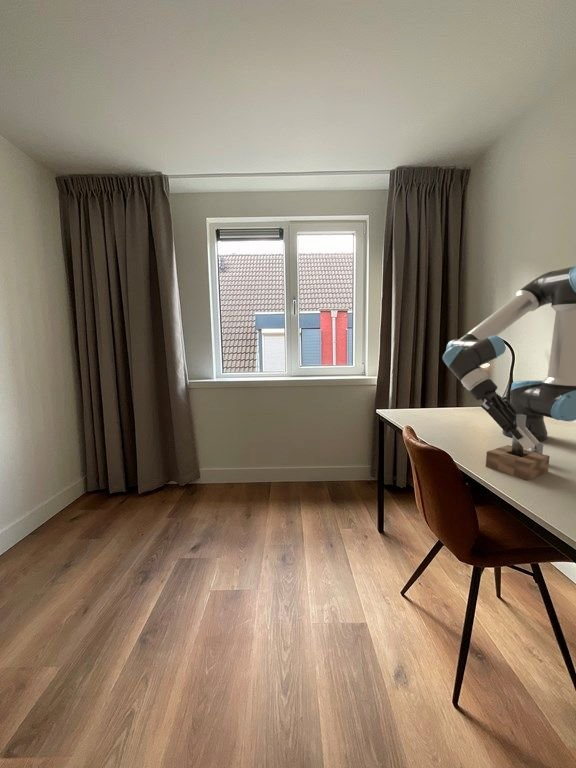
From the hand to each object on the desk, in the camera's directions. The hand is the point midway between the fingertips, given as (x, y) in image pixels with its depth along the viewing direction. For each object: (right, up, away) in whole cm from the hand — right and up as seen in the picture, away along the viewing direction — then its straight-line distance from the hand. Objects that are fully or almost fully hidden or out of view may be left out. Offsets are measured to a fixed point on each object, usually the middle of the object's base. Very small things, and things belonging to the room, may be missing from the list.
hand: (532, 446), depth 99 cm
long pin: (-2, -5, +4) cm, 6 cm away
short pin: (+8, -7, +10) cm, 15 cm away
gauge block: (-2, -8, +4) cm, 9 cm away
